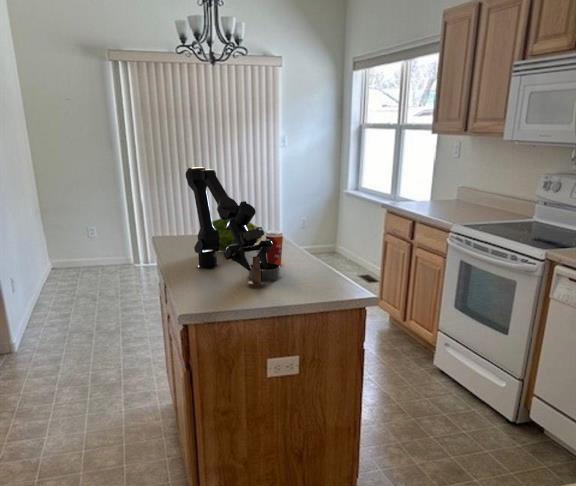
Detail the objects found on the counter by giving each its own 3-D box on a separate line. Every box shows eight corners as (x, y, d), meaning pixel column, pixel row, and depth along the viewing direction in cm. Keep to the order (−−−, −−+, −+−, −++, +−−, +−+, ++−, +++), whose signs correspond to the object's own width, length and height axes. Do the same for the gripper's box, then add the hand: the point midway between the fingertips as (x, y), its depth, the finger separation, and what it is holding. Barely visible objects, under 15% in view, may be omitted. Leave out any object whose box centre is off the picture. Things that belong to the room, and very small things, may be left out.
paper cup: (281, 268, 219) (281, 234, 214) (263, 266, 220) (263, 233, 215) (285, 263, 226) (285, 230, 221) (267, 262, 228) (267, 229, 222)
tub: (244, 279, 202) (244, 268, 201) (255, 272, 213) (255, 261, 211) (273, 282, 199) (274, 271, 198) (282, 275, 210) (283, 263, 208)
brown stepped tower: (245, 285, 195) (245, 256, 191) (257, 283, 199) (257, 254, 194) (254, 289, 191) (254, 259, 187) (267, 286, 195) (267, 257, 191)
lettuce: (267, 252, 245) (268, 218, 239) (211, 256, 236) (209, 221, 230) (257, 245, 258) (257, 213, 252) (203, 249, 248) (201, 215, 243)
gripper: (227, 222, 183) (246, 260, 180) (270, 217, 195) (288, 252, 191) (215, 241, 192) (233, 277, 188) (257, 235, 203) (275, 269, 199)
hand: (258, 268), depth 191 cm, fingers open, 7 cm apart
